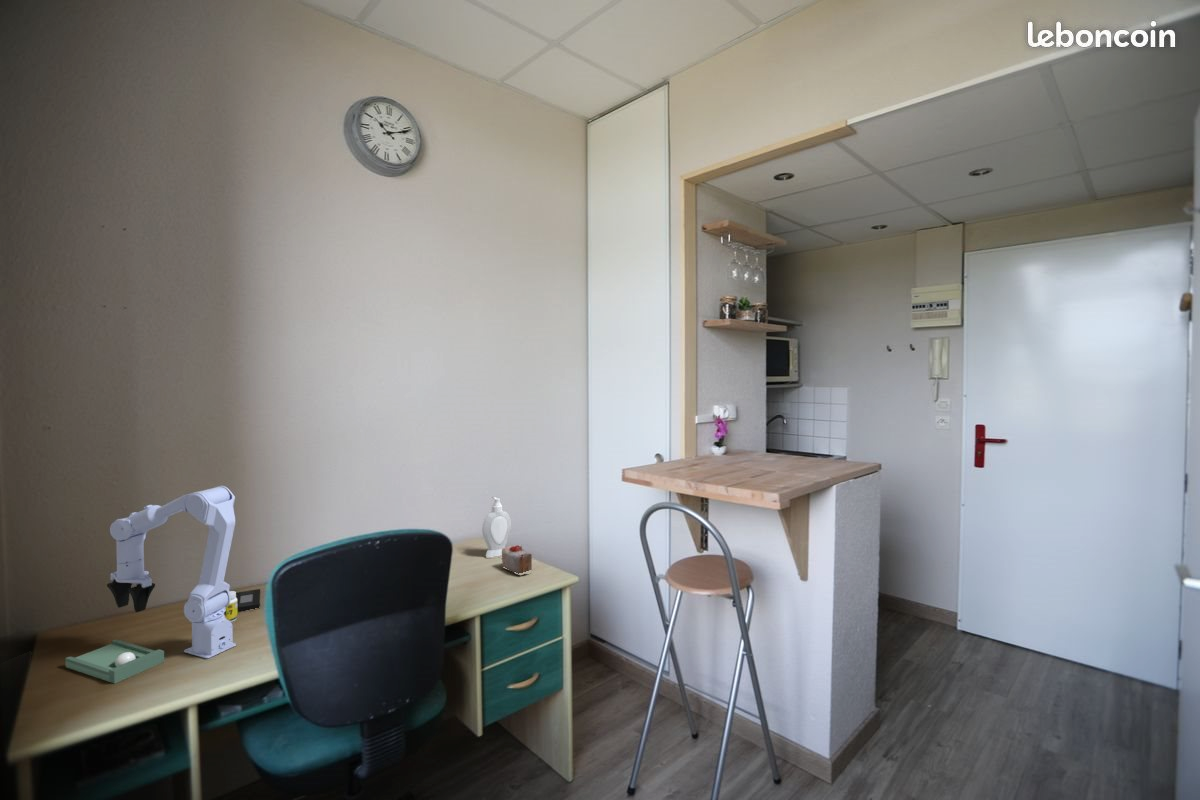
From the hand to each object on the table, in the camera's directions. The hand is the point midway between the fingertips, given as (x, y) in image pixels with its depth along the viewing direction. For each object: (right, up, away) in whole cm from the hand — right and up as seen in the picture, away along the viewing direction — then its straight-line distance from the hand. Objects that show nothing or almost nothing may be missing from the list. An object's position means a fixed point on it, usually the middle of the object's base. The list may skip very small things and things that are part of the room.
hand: (131, 608), depth 153 cm
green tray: (+5, -10, -11) cm, 16 cm away
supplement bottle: (+16, -10, +16) cm, 25 cm away
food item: (+97, -9, +63) cm, 116 cm away
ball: (+9, -9, -12) cm, 18 cm away
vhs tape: (+14, -10, +29) cm, 33 cm away
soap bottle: (+86, -8, +80) cm, 118 cm away
